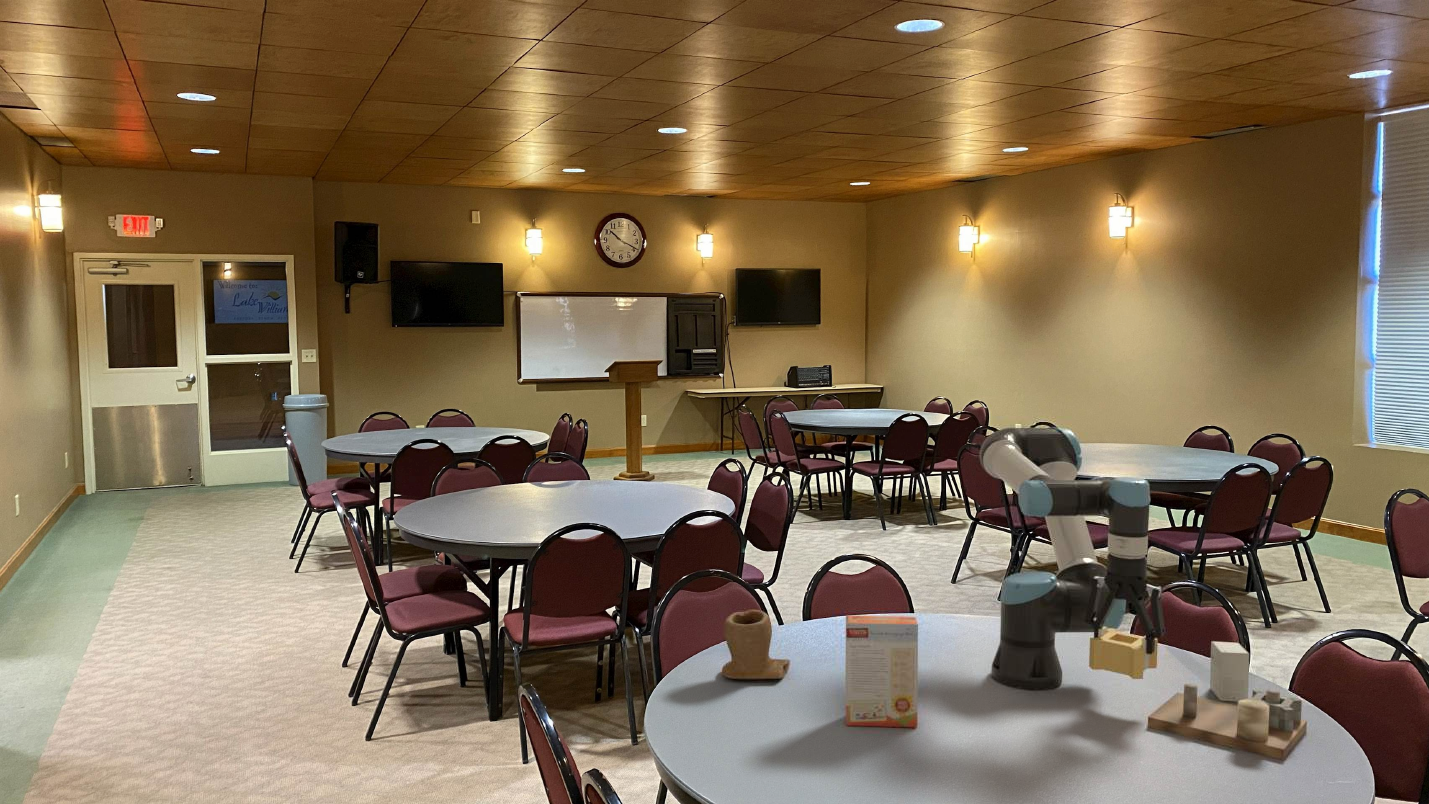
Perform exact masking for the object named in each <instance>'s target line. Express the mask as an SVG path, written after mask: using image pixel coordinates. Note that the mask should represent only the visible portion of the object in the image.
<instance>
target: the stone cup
mask: <svg viewBox="0 0 1429 804" xmlns="http://www.w3.org/2000/svg"><path fill="white" fill-rule="evenodd" d="M723 626H724V638H725V642H726V644H727V647H728V651H729V653H730V656H731V660H729V661H728V662H726V663H725V664H724V665H723V667H722V668H721V673H722V675H723V676H724V677H726V678H727V679H730V680H731V679H733V680H773V679H775V680H776V679H777V680H778V679H780V680H781V679H784V678H785V677H786V675H787V674H788V672H789V670H790V669H789V668H790V665H791V659H785V658H784V659H782V658H781V659H776V658H771V657H770V647H771V643H772V642H771V641H772V635H773V625H772V621H771V618H770V616H769V615H768V614H767V613H766V612H765V611H762V610H759V609H748V610H746V611H737V612H736V611H735V612H733V613H732V614H730V615H729V616H728V617H727V618H726V619H725V621H724V625H723Z"/></svg>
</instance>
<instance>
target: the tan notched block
mask: <svg viewBox="0 0 1429 804" xmlns="http://www.w3.org/2000/svg"><path fill="white" fill-rule="evenodd" d="M1143 637H1144V636H1143V635H1136V634H1132V633H1127V632H1124V631H1123V632H1122V631H1118V629H1114V628H1110V629H1107V633H1106V634H1105V635H1103V636H1101V637H1100V638H1094V637H1090V638H1089V657H1088V658H1089V660H1088V667H1089V668H1090V669H1092V670H1093V671H1099V670H1100V671H1101V670H1103V671H1108V672H1112V673H1116V674H1120V675H1125V676H1128V677H1130V678H1131V679H1133V680H1143V679H1144V672H1145V671H1144V670H1143V667H1144V649H1143V648H1142V645H1141V644H1142V638H1143ZM1158 639H1159V638H1155V650H1154V653H1152V654H1149V667H1148V668H1147V669H1157V667H1158V666H1157V665H1158V644H1159V642H1158V641H1159V640H1158Z"/></svg>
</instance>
